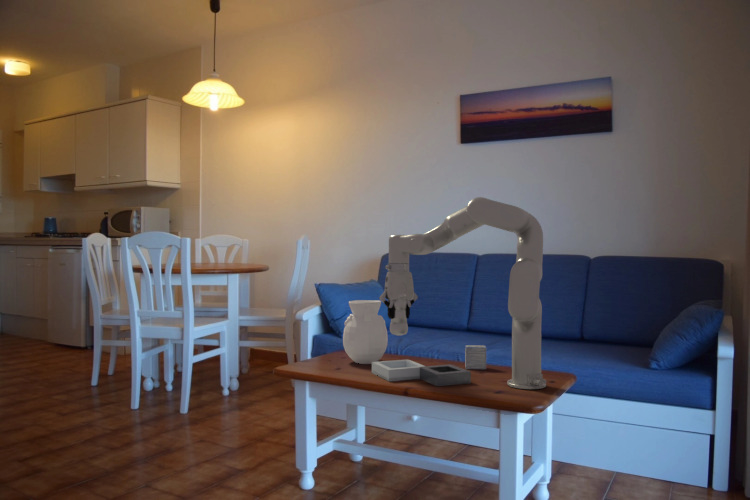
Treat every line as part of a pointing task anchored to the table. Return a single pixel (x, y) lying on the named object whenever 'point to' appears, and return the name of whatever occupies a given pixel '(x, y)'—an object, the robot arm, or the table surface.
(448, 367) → the dark grey storage bin
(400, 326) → the plastic bottle
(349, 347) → the white vase
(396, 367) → the tray
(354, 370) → the table surface
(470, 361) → the grey upright block
